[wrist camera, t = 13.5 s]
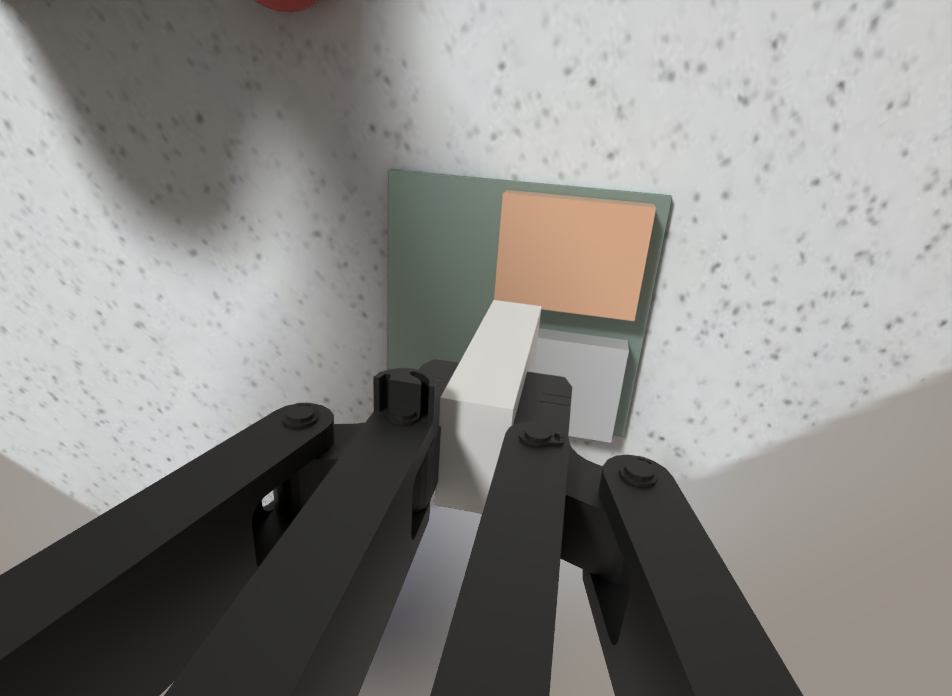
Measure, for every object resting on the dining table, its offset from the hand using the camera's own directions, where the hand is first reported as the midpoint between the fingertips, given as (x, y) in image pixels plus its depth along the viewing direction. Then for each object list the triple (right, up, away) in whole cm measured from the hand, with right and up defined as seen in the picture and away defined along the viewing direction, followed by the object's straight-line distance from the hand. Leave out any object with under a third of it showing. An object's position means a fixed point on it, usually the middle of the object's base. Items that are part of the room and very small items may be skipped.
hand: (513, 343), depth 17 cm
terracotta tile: (0, +6, +18) cm, 19 cm away
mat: (+1, +3, +21) cm, 21 cm away
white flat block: (0, -2, +22) cm, 22 cm away
